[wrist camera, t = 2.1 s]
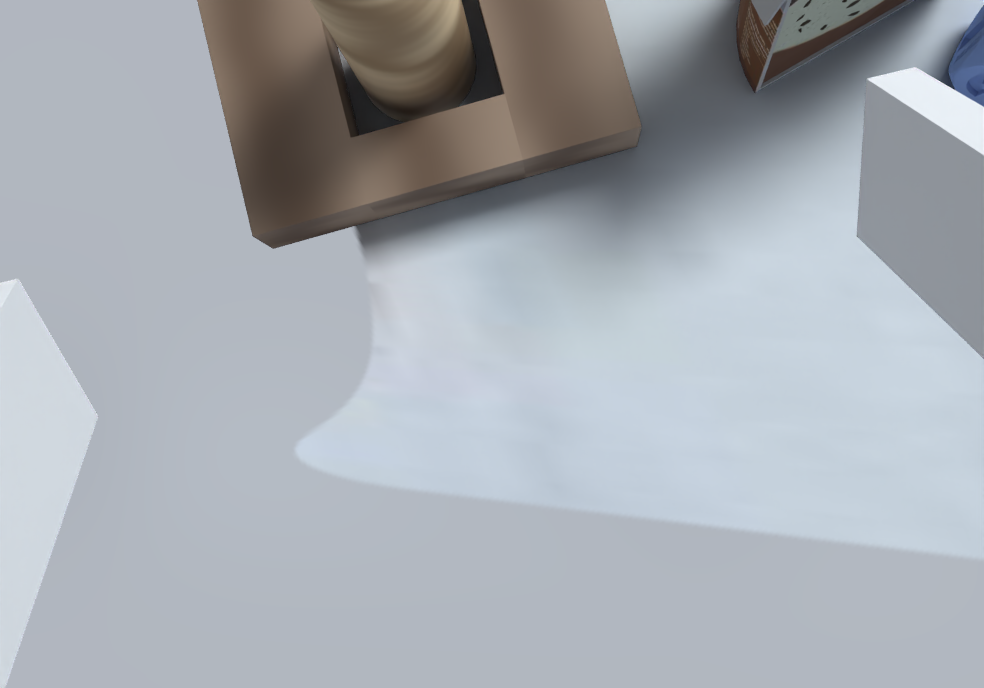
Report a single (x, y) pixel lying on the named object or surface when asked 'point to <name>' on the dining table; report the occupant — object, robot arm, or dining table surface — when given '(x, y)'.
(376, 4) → the dowel
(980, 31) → the decorative dice
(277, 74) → the dowel block
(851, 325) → the dining table surface
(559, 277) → the dining table surface
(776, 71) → the food container
